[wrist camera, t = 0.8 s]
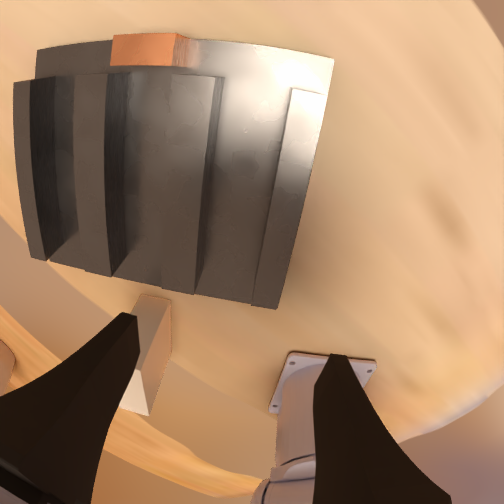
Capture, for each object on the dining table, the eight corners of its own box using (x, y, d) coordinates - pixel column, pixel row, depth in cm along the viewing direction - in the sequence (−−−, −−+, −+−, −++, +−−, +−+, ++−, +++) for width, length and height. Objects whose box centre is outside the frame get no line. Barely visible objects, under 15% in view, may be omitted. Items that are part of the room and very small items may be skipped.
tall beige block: (171, 351, 27) (149, 416, 21) (146, 344, 27) (119, 407, 21) (170, 300, 24) (140, 370, 18) (141, 293, 24) (105, 360, 18)
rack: (277, 299, 23) (276, 334, 20) (56, 254, 23) (33, 279, 20) (331, 60, 14) (343, 56, 11) (46, 49, 14) (11, 51, 11)
